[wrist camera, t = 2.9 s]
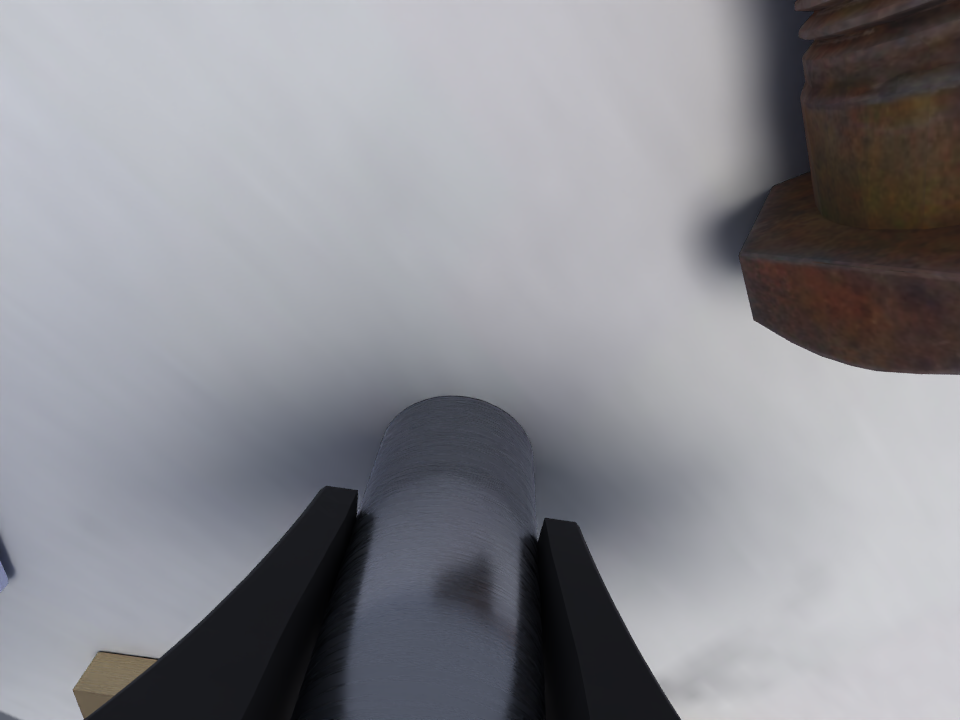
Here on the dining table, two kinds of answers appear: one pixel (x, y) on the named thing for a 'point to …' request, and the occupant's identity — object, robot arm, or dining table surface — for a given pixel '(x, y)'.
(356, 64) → the dining table surface
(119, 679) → the hinge
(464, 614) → the hinge pin
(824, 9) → the bolt
